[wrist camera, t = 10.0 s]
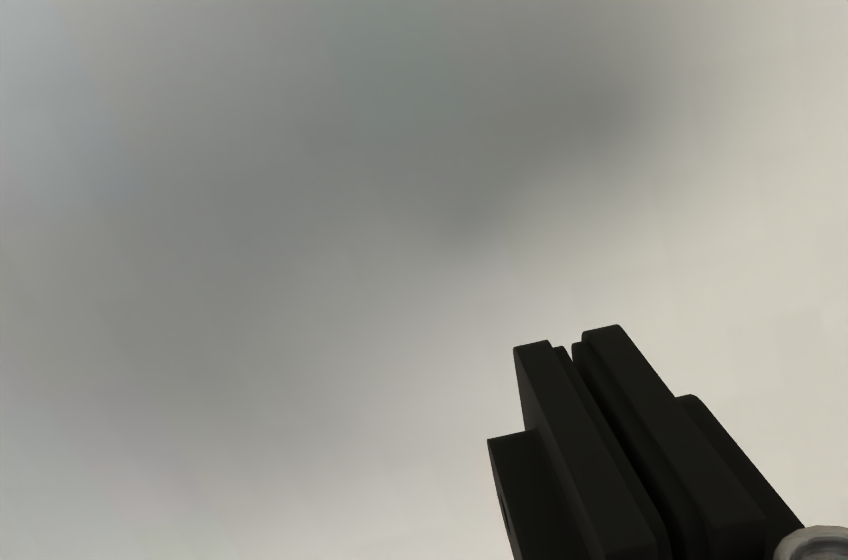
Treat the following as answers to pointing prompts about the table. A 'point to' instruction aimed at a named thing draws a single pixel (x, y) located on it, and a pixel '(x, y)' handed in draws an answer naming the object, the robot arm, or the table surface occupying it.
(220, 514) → the table surface
